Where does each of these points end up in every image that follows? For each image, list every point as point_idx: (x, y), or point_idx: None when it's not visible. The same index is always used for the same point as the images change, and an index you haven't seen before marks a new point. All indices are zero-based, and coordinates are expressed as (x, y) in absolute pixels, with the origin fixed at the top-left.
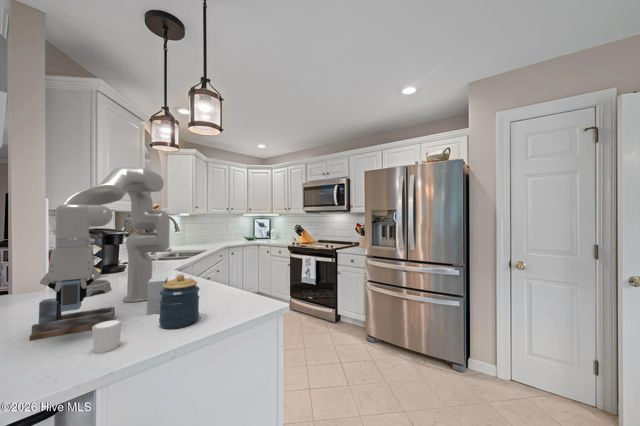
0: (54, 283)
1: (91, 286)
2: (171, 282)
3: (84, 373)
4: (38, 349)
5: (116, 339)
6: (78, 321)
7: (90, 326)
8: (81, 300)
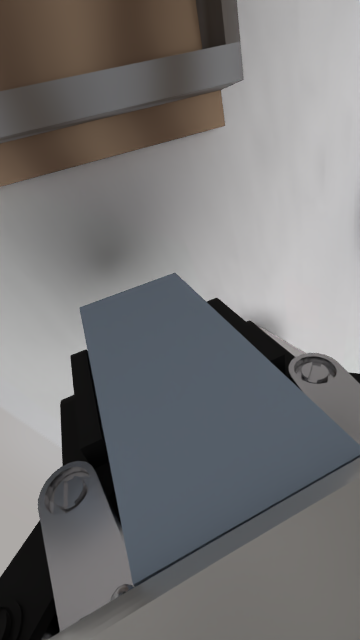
0: (42, 636)
1: None
2: None
3: None
4: (33, 329)
5: None
6: (68, 122)
7: (135, 149)
8: None
